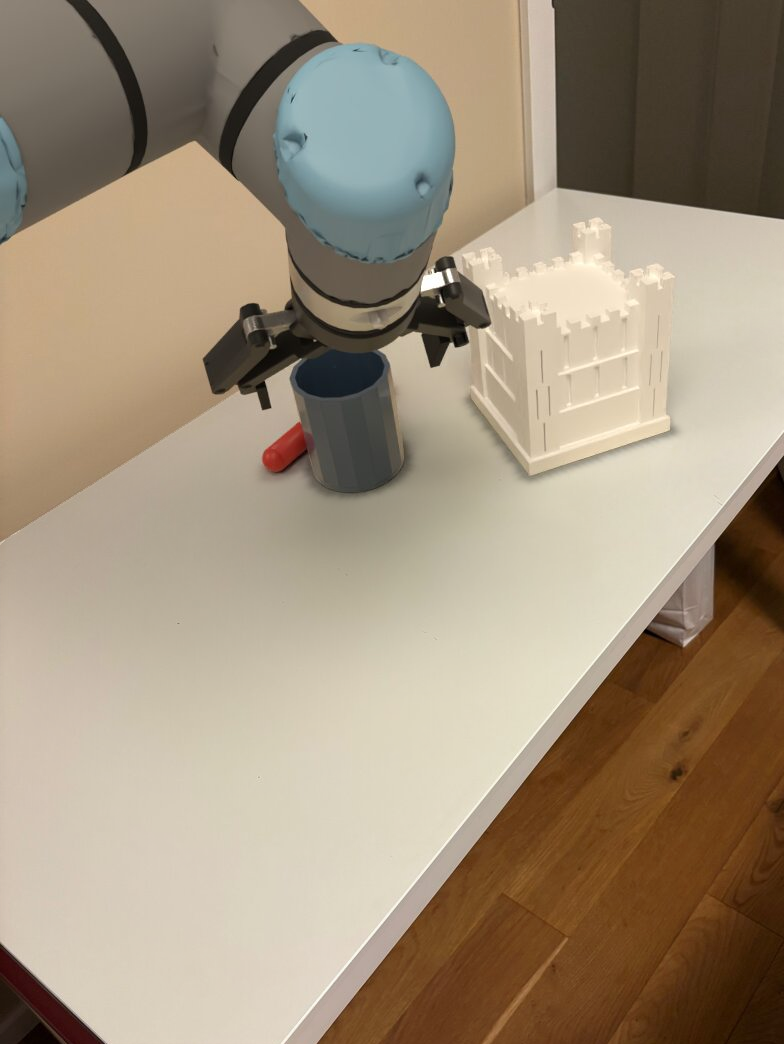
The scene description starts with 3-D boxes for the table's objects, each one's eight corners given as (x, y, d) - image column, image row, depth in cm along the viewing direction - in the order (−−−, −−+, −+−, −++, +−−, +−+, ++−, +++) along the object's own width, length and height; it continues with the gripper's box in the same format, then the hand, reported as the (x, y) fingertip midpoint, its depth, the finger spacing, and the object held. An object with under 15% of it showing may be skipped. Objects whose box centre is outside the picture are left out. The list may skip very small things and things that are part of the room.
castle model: (470, 398, 95) (456, 254, 84) (598, 359, 97) (600, 214, 87) (529, 476, 85) (521, 324, 74) (669, 430, 87) (681, 277, 77)
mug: (414, 478, 86) (400, 385, 79) (322, 502, 85) (299, 410, 78) (380, 401, 95) (365, 311, 88) (297, 422, 94) (274, 333, 87)
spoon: (289, 483, 88) (284, 462, 86) (250, 469, 90) (243, 448, 88) (397, 388, 97) (393, 368, 95) (358, 377, 99) (354, 357, 98)
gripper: (153, 388, 51) (202, 457, 72) (583, 282, 55) (511, 378, 76) (115, 254, 51) (175, 363, 72) (547, 157, 55) (485, 288, 76)
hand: (347, 371), depth 74 cm, fingers open, 13 cm apart
